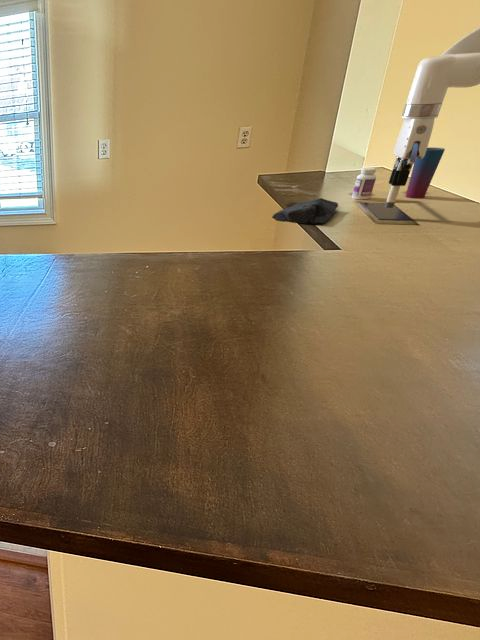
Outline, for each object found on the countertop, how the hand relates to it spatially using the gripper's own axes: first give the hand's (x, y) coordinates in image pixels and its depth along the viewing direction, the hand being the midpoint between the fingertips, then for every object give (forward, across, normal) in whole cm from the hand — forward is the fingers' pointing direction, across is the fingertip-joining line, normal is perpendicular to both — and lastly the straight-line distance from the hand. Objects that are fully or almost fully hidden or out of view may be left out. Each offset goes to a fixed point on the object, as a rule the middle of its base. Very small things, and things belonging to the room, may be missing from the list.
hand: (396, 184), depth 135 cm
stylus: (+6, 0, 0) cm, 6 cm away
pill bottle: (+11, +32, 0) cm, 34 cm away
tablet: (+10, +9, -5) cm, 15 cm away
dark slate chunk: (+11, +5, +19) cm, 22 cm away
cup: (+10, +35, -16) cm, 40 cm away
